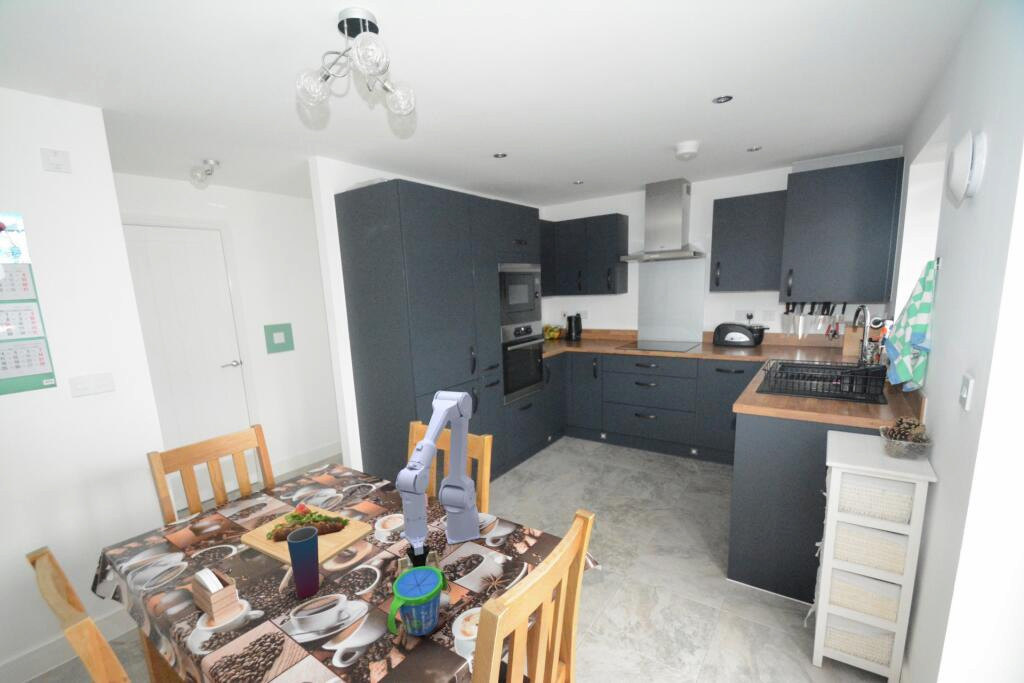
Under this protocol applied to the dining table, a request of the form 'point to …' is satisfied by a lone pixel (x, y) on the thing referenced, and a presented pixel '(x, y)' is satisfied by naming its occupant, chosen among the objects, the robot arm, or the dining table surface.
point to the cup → (304, 560)
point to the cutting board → (331, 526)
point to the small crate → (412, 564)
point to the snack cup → (417, 600)
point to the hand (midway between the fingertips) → (418, 564)
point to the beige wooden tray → (432, 560)
